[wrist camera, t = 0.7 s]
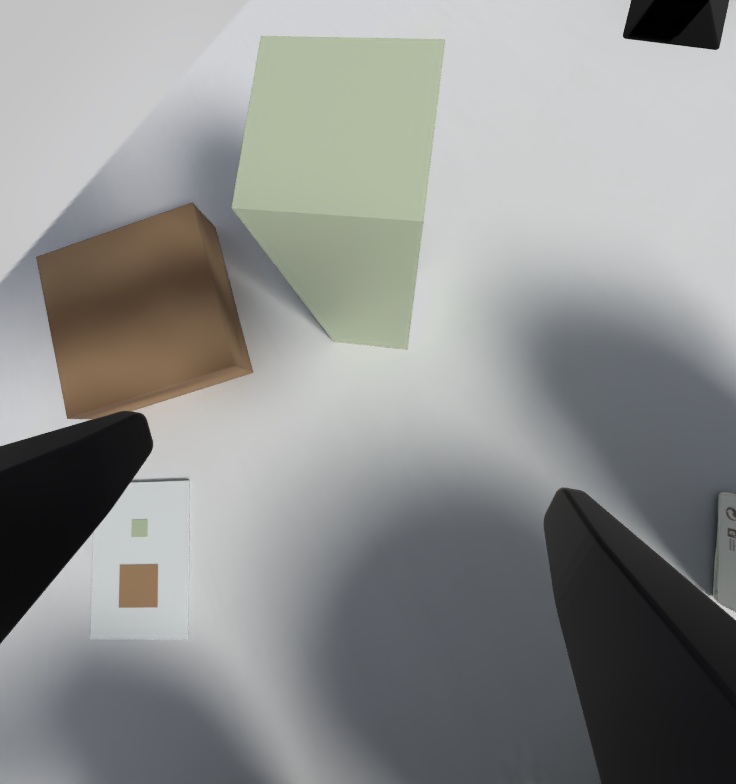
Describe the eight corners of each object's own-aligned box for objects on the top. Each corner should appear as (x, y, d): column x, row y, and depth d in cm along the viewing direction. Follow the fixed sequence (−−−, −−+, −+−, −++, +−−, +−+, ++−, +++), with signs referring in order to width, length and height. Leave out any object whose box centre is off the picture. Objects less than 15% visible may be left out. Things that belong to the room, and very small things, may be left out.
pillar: (407, 349, 21) (423, 221, 8) (333, 341, 21) (231, 207, 8) (415, 277, 21) (445, 39, 8) (343, 270, 21) (260, 35, 8)
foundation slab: (253, 372, 21) (233, 365, 19) (104, 419, 22) (67, 418, 19) (215, 227, 22) (192, 202, 20) (75, 275, 23) (36, 257, 20)
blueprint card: (188, 638, 20) (186, 640, 20) (92, 637, 20) (89, 640, 20) (189, 480, 21) (187, 480, 21) (97, 483, 21) (94, 484, 21)
